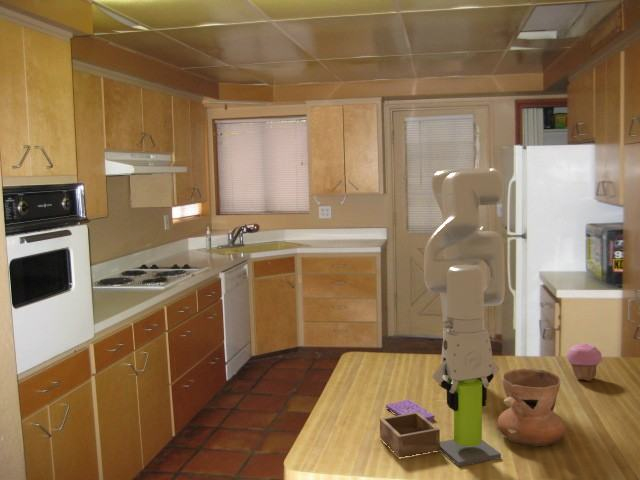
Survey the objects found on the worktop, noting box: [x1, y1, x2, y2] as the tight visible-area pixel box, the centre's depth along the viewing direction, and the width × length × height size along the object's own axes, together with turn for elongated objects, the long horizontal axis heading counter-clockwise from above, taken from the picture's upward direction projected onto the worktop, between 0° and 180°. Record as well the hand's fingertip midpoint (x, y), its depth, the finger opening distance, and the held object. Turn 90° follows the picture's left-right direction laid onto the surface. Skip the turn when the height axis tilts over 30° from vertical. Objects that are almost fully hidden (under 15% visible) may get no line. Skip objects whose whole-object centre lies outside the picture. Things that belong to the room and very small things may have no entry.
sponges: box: [385, 398, 436, 422], centre depth 164 cm, size 7×13×2 cm, turn 22°
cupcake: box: [566, 343, 603, 382], centre depth 182 cm, size 9×9×10 cm
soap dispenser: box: [453, 379, 483, 446], centre depth 140 cm, size 6×7×20 cm
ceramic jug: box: [497, 368, 567, 447], centre depth 147 cm, size 18×14×14 cm
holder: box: [379, 412, 441, 458], centre depth 146 cm, size 11×10×5 cm
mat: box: [440, 438, 502, 467], centre depth 142 cm, size 10×10×1 cm
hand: (466, 405), depth 140 cm, fingers closed on soap dispenser, 5 cm apart
